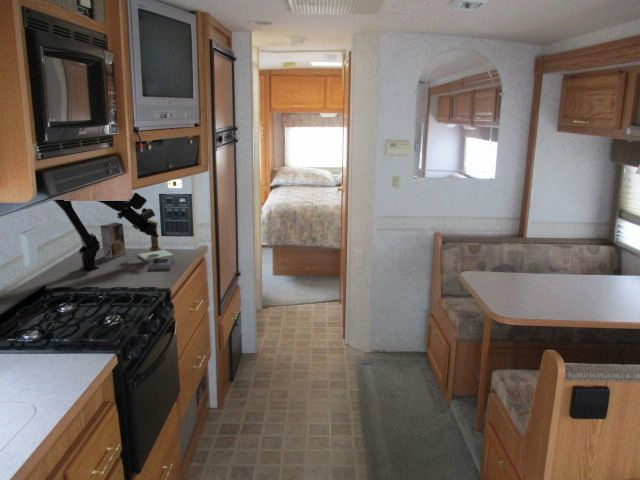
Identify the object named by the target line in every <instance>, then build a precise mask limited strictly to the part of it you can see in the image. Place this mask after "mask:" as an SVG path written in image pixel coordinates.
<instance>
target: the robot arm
mask: <svg viewBox="0 0 640 480" xmlns="http://www.w3.org/2000/svg"><path fill="white" fill-rule="evenodd" d="M132 196H133V197H132ZM132 196H131V197H132V199H130V198H129V199H128V200H127V201H97V202H99V203H101V204H104V205H105V206H107V207H109V208H110V209H112V210H114V211H116V212H117V213H116V214H117V219H119V220H122V218H124V219H125V220H127V221H128V223H130V224H132V228H133V229H134V230H137V231H139V232H140V233H142V234H143V233H144V234H145V235H147V236H150V237H151V236H154V237H158V238H159V236H160V235H159V234H158V231H157V232H156V231H155V230H154V229H155V228H156V226H157V225H156V224H154V223H153V222H149V220H151V219H152V218H153V217H155V216H156V214H155V211H154V210H153V209H152V208H145V207H144V208H143V206H144V205H145V204H146V203H147V201H148V200H147V199H146V198H145V197H143V195H141V194H140V193H138V192H134V193H133V195H132ZM52 201H53V202H54V203H55V204H56V206H58V207H59V208H60V209H61V210H62V211H63V212H64V214H65V215H66V217H67V219H68V220H69V223H71V224H72V226H73V228H74V230H75V231H76V232H77V234H78V235H79V238H80V242H81V244H82V246H81V247H80V249H78V253H79V254H80V255H81V264H82V265H81V266H80V267H79V268H80V269H81V270H83V271H85V272H86V271H90V270H96V269H99V266H98V265H96V257H97V253H98V252H99V250H100V248H101V245H100V243H101V242H100V241H99V240H98V239H97V235H95V234H94V233H89V231H88V230H87V228H86V226H85V225H84V224H83V223H84V222H82V220H81V219H80V217H79V216H78V214H77V212H76V211H75V209H74V208H73V204H72V201H71V200H70V201H64V200H53V199H52ZM137 210H141V213H139V212H137ZM157 227H158V226H157Z"/></svg>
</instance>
